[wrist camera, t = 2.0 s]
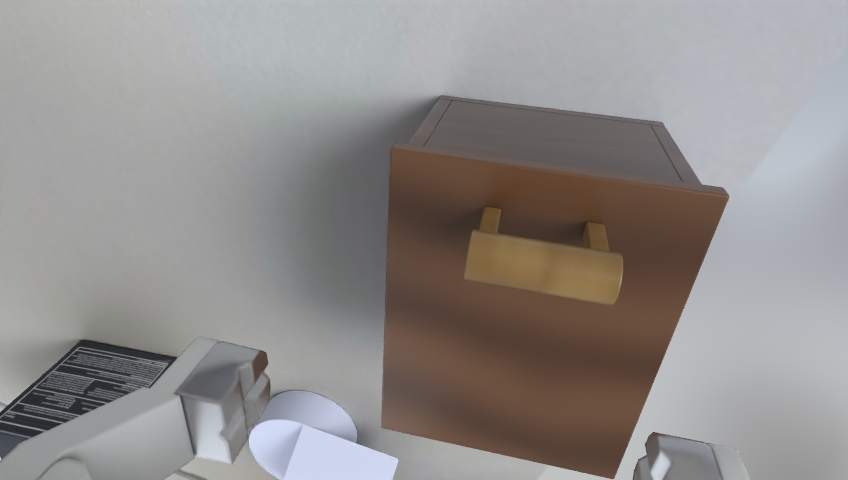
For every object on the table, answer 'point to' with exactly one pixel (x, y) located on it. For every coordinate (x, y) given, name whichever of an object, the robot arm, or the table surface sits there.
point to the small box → (78, 389)
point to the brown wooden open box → (554, 138)
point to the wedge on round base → (314, 442)
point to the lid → (533, 301)
